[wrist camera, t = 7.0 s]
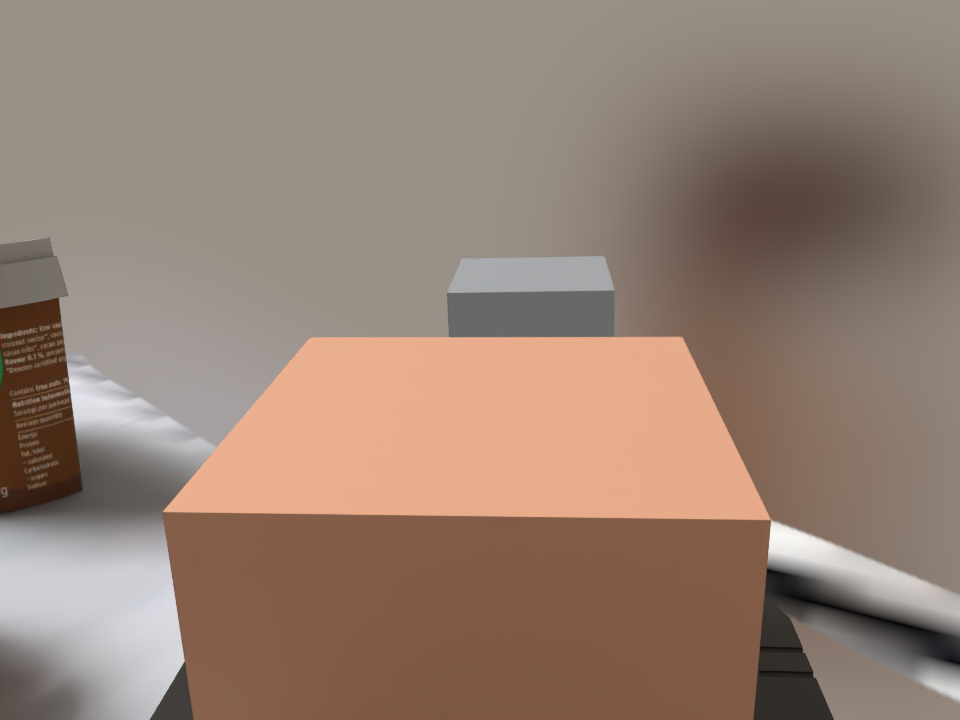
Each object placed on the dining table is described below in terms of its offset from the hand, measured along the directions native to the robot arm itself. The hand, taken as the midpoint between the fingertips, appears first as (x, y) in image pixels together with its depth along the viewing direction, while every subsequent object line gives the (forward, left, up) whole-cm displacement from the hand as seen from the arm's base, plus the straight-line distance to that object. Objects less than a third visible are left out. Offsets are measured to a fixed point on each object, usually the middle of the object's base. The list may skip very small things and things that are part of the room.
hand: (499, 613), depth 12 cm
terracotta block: (+2, -2, -6) cm, 7 cm away
